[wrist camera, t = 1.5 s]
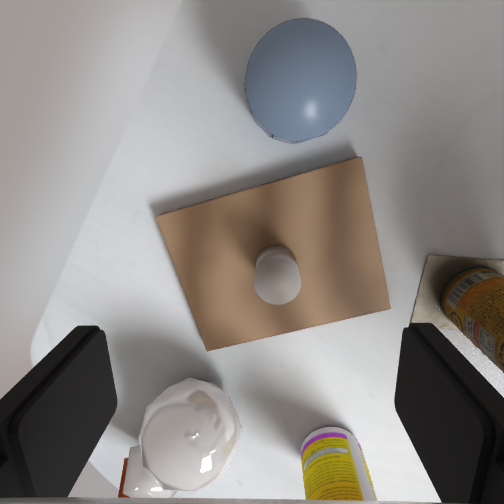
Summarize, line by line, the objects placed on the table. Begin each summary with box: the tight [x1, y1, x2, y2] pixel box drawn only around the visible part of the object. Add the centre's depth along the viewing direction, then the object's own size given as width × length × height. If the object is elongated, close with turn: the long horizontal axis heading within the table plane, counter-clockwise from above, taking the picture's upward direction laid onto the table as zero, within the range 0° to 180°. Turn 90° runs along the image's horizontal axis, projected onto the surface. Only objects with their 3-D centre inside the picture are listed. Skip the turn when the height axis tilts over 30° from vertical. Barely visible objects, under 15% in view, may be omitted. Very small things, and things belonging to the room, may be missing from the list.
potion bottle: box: [118, 378, 242, 498], centre depth 33 cm, size 9×10×15 cm
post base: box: [156, 157, 391, 351], centre depth 28 cm, size 18×14×6 cm
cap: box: [245, 18, 357, 144], centre depth 24 cm, size 7×7×6 cm
